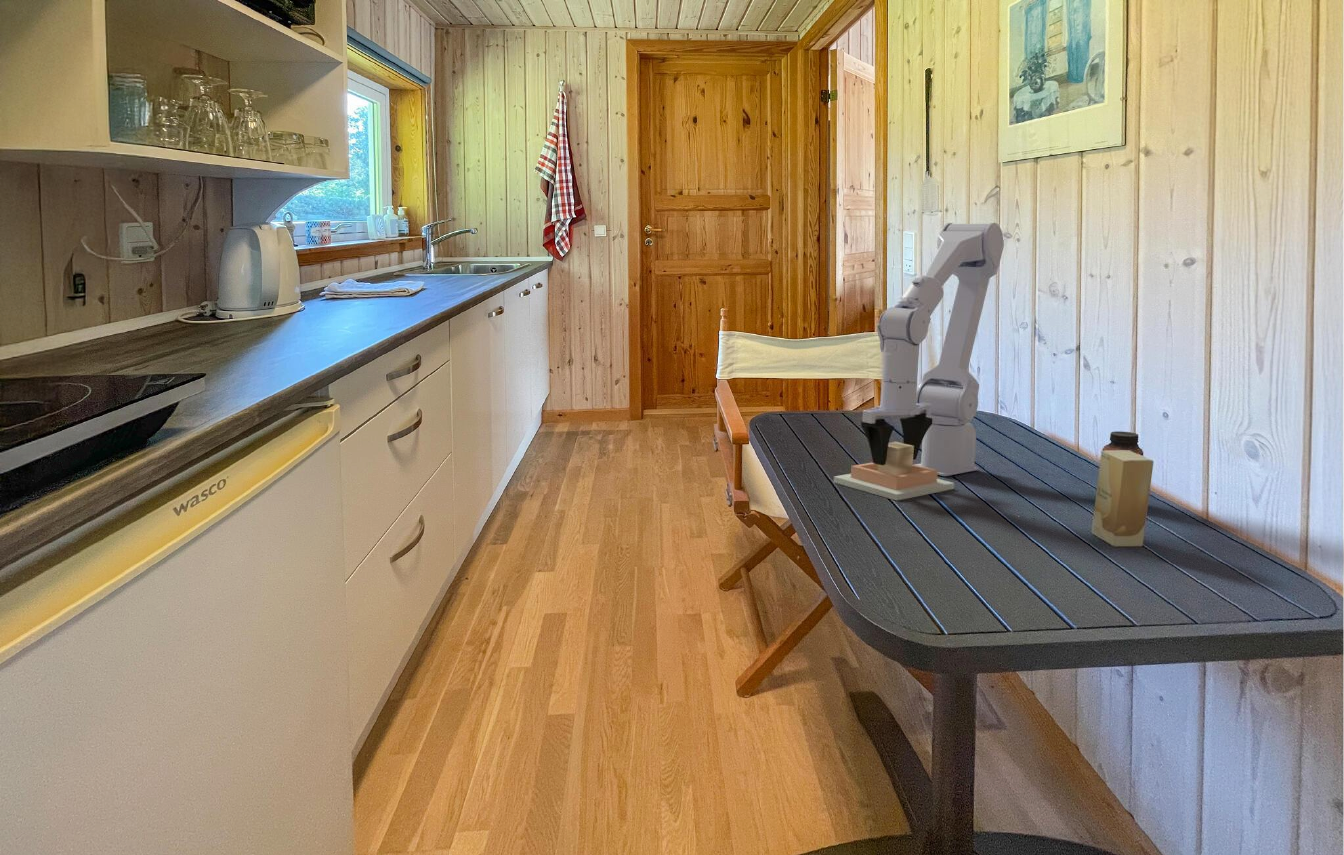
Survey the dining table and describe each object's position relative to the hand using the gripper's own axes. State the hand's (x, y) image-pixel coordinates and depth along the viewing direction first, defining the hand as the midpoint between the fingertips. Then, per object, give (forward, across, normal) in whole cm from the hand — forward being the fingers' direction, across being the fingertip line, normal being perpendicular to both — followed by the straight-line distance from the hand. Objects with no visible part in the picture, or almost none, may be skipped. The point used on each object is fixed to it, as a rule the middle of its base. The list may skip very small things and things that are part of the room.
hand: (894, 461), depth 161 cm
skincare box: (+4, +3, -38) cm, 38 cm away
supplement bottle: (+4, +22, -27) cm, 35 cm away
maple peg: (+3, 0, 0) cm, 3 cm away
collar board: (+4, 0, 0) cm, 4 cm away
